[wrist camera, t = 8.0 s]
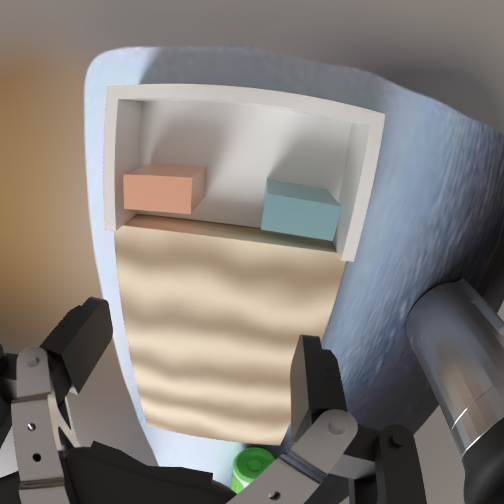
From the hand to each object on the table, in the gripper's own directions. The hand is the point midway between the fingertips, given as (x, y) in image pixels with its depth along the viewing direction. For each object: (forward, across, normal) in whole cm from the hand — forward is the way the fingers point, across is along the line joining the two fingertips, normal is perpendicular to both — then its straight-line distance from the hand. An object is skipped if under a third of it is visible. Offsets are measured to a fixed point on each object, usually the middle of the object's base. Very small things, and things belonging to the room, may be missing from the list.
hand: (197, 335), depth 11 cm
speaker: (+16, -7, +46) cm, 49 cm away
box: (+15, 0, -4) cm, 16 cm away
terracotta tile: (+12, +5, -2) cm, 13 cm away
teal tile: (+12, -4, -1) cm, 13 cm away
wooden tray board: (+15, 0, +16) cm, 22 cm away
